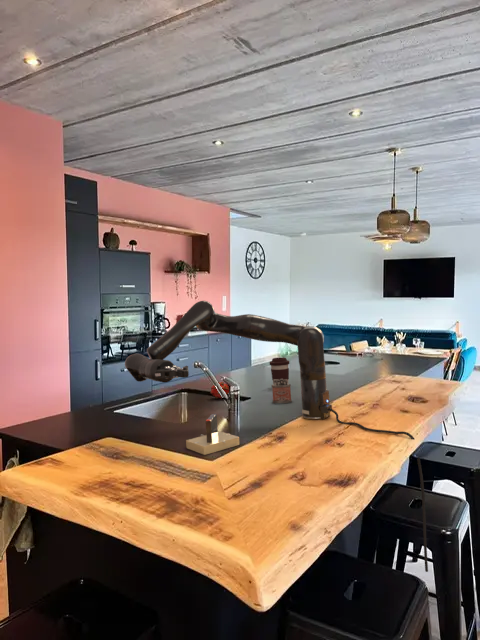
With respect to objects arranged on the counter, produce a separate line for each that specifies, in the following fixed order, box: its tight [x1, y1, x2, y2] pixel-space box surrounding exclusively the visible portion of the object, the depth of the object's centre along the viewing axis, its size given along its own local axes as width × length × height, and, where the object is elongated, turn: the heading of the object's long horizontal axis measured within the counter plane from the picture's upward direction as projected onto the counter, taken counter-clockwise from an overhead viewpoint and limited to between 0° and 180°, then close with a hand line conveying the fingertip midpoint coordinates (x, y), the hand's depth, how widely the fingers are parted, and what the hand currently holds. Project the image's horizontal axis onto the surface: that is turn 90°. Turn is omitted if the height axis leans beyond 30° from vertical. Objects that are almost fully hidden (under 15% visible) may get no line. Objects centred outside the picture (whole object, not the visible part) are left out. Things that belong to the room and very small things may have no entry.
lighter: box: [271, 379, 292, 404], centre depth 207 cm, size 8×3×10 cm, turn 84°
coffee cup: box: [269, 356, 291, 385], centre depth 241 cm, size 10×10×15 cm
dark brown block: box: [205, 413, 219, 443], centre depth 148 cm, size 9×2×7 cm, turn 172°
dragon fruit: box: [209, 381, 230, 400], centre depth 224 cm, size 8×8×12 cm
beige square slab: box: [185, 431, 240, 456], centre depth 149 cm, size 13×13×3 cm
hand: (186, 374), depth 152 cm, fingers closed
